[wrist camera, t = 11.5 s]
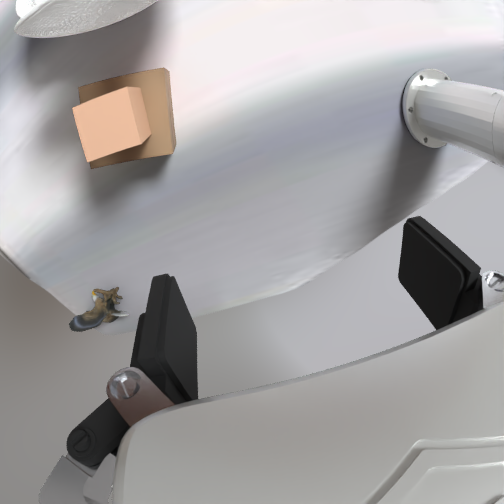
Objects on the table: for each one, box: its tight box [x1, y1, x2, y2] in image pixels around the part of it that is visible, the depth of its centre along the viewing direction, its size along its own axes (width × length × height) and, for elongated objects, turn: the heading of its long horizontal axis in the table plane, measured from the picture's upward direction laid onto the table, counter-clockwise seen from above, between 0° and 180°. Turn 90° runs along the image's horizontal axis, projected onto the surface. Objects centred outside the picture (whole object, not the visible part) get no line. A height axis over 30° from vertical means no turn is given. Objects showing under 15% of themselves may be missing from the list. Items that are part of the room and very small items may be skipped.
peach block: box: [72, 87, 152, 162], centre depth 23 cm, size 5×5×6 cm
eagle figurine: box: [69, 287, 129, 332], centre depth 40 cm, size 8×7×9 cm
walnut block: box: [78, 68, 176, 169], centre depth 28 cm, size 9×9×6 cm
